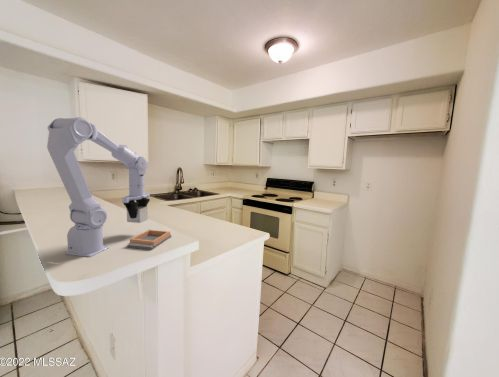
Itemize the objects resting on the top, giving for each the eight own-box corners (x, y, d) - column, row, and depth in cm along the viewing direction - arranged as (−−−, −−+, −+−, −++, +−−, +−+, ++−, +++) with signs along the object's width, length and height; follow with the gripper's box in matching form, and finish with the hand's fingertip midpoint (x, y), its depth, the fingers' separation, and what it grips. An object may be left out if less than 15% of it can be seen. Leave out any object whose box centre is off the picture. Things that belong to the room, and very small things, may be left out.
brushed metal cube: (126, 221, 87) (126, 207, 86) (135, 218, 92) (134, 205, 91) (140, 223, 86) (139, 208, 85) (147, 219, 91) (147, 206, 90)
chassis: (127, 247, 76) (127, 240, 75) (150, 234, 89) (150, 228, 89) (151, 249, 74) (151, 242, 74) (171, 236, 88) (171, 230, 88)
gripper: (133, 187, 79) (134, 221, 81) (155, 184, 94) (155, 213, 95) (117, 186, 80) (118, 220, 82) (141, 183, 94) (141, 212, 96)
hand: (137, 216), depth 89 cm, fingers closed on brushed metal cube, 5 cm apart
